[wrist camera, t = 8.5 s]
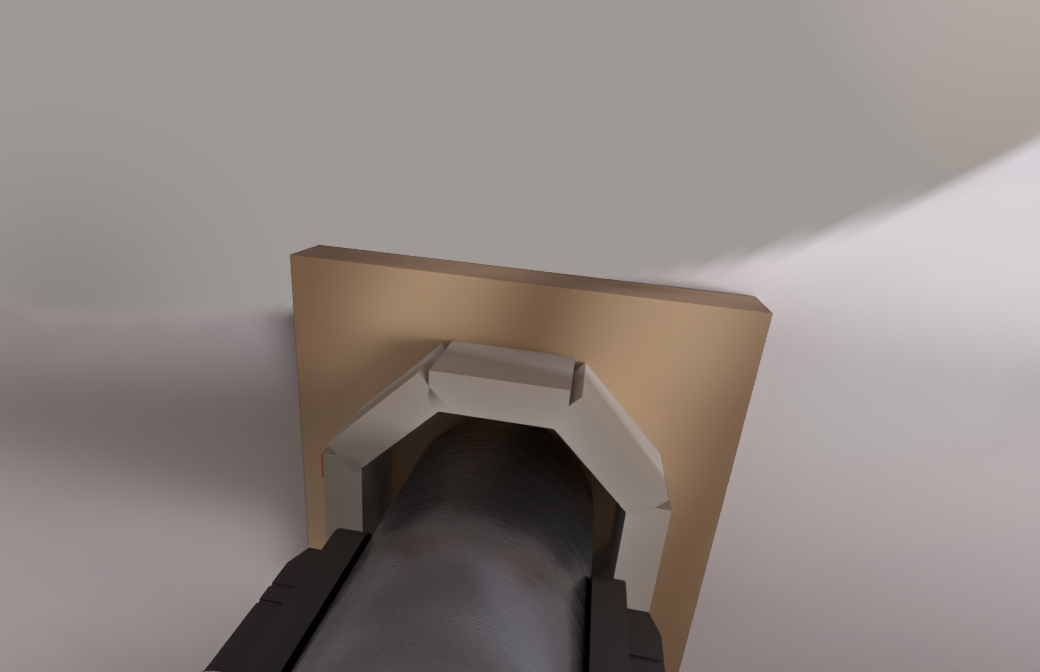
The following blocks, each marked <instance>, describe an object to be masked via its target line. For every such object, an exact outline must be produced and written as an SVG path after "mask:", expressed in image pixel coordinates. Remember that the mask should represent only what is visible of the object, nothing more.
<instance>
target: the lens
mask: <svg viewBox="0 0 1040 672" xmlns="http://www.w3.org/2000/svg"><path fill="white" fill-rule="evenodd" d="M593 513H594V503H593V494H592V490H591V485H590V483H589V480H588V478H587V475H586V473H585V471H584V470H583V468H582V466H581V464H580V463H579V462H578V461H577V459H576V458H575V457H574V455H573V454H572V453H571V452H570V451H569V450H568V449H567V448H566V447H565V446H564V445H562V444H561V443H560V442H559V441H557V440H556V439H555V438H553V437H552V436H550V435H548V434H547V433H545V432H543V431H541V430H539V429H537V428H535V427H532V426H530V425H525V424H518V423H512V422H505V421H499V420H492V419H480V420H473V421H469V422H465V423H462V424H459V425H457V426H454V427H452V428H450V429H448V430H446V431H445V432H443V433H442V434H440V435H439V436H438V437H436V438H435V439H434V440H433V441H432V442H431V443H430V444H429V445H428V446H427V448H426V449H425V450H424V452H423V453H422V455H421V456H420V458H419V460H418V461H417V463H416V465H415V466H414V468H413V470H412V471H411V473H410V475H409V476H408V478H407V480H406V481H405V483H404V485H403V486H402V488H401V489H400V491H399V493H398V494H397V496H396V498H395V499H394V501H393V503H392V504H391V506H390V508H389V509H388V511H387V513H386V514H385V516H384V518H383V519H382V521H381V523H380V524H379V526H378V528H377V529H376V531H375V533H374V534H373V536H372V537H371V539H370V541H369V542H368V544H367V546H366V547H365V549H364V551H363V552H362V554H361V556H360V557H359V559H358V561H357V562H356V564H355V566H354V567H353V569H352V571H351V572H350V574H349V576H348V577H347V579H346V581H345V582H344V584H343V585H342V587H341V589H340V590H339V592H338V594H337V595H336V597H335V599H334V600H333V602H332V604H331V605H330V607H329V609H328V610H327V612H326V614H325V615H324V617H323V619H322V620H321V622H320V624H319V625H318V627H317V629H316V630H315V632H314V633H313V635H312V637H311V638H310V640H309V642H308V643H307V645H306V647H305V648H304V650H303V652H302V653H301V655H300V657H299V658H298V660H297V662H296V663H295V665H294V667H293V668H292V670H291V672H587V650H588V622H589V595H590V578H591V573H592V543H593Z"/></svg>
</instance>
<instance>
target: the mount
mask: <svg viewBox="0 0 1040 672" xmlns="http://www.w3.org/2000/svg"><path fill="white" fill-rule="evenodd" d="M290 260H291V276H292V291H293V308H294V323H295V339H296V355H297V370H298V386H299V402H300V417H301V433H302V449H303V464H304V480H305V496H306V511H307V527H308V543H309V548H315V549H320V550H321V549H322V548H323V546H324V545H325V544H326V542H327V541H328V539H329V538H330V537H331V535H332V534H333V532H334V531H335V530H336V529H338V528H344V529H350V530H355V531H361V532H366V533H371V534H372V536H373V534H374V533H375V531H376V529H377V528H378V526H379V524H380V523H381V521H382V519H383V518H384V516H385V514H386V513H387V511H388V509H389V508H390V506H391V504H392V503H393V501H394V499H395V498H396V496H397V494H398V493H399V491H400V489H401V488H402V486H403V485H404V483H405V481H406V480H407V478H408V476H409V475H410V473H411V471H412V470H413V468H414V466H415V465H416V463H417V461H418V460H419V458H420V456H421V455H422V453H423V452H424V450H425V449H426V448H427V446H428V445H429V444H430V443H431V442H432V441H433V440H434V439H435V438H436V437H438V436H439V435H440V434H442V433H443V432H445V431H446V430H448V429H450V428H452V427H454V426H457V425H459V424H462V423H465V422H469V421H473V420H480V419H492V420H499V421H505V422H512V423H518V424H525V425H530V426H532V427H535V428H537V429H539V430H541V431H543V432H545V433H547V434H548V435H550V436H552V437H553V438H555V439H556V440H557V441H559V442H560V443H561V444H562V445H564V446H565V447H566V448H567V449H568V450H569V451H570V452H571V453H572V454H573V455H574V457H575V458H576V459H577V461H578V462H579V463H580V464H581V466H582V468H583V470H584V471H585V473H586V475H587V478H588V480H589V483H590V485H591V490H592V494H593V503H594V513H593V543H592V573H591V574H592V575H598V576H603V577H609V578H614V579H620V580H625V582H626V593H627V608H629V609H635V610H640V611H645V612H649V614H650V616H651V618H652V619H653V621H654V623H655V625H656V627H657V629H658V631H659V632H660V634H661V638H662V647H663V655H664V666H665V672H679V668H680V664H681V660H682V657H683V653H684V649H685V645H686V641H687V638H688V634H689V630H690V626H691V622H692V619H693V615H694V611H695V607H696V603H697V600H698V596H699V592H700V588H701V584H702V580H703V577H704V573H705V569H706V565H707V561H708V558H709V554H710V550H711V546H712V542H713V539H714V535H715V531H716V527H717V523H718V520H719V516H720V512H721V508H722V504H723V501H724V497H725V493H726V489H727V485H728V482H729V478H730V474H731V470H732V466H733V463H734V459H735V455H736V451H737V447H738V444H739V440H740V436H741V432H742V428H743V424H744V421H745V417H746V413H747V409H748V405H749V402H750V398H751V394H752V390H753V386H754V383H755V379H756V375H757V371H758V367H759V364H760V360H761V356H762V352H763V348H764V345H765V341H766V337H767V333H768V329H769V326H770V322H771V318H772V314H773V313H772V312H771V311H770V310H769V309H768V308H767V307H766V306H764V305H763V304H762V303H761V302H760V301H759V300H758V299H757V298H756V297H753V296H745V295H736V294H728V293H719V292H711V291H703V290H694V289H686V288H677V287H669V286H661V285H652V284H644V283H635V282H627V281H618V280H610V279H602V278H593V277H585V276H576V275H568V274H560V273H551V272H543V271H534V270H526V269H517V268H509V267H500V266H492V265H484V264H475V263H467V262H458V261H450V260H441V259H433V258H425V257H416V256H408V255H400V254H391V253H382V252H373V251H366V250H357V249H349V248H340V247H332V246H323V245H318V246H315V247H312V248H309V249H306V250H303V251H300V252H297V253H294V254H291V255H290Z"/></svg>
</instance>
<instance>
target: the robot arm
mask: <svg viewBox="0 0 1040 672" xmlns="http://www.w3.org/2000/svg"><path fill="white" fill-rule="evenodd" d="M371 537H372V534H371V533H366V532H361V531H355V530H350V529H344V528H338V529H336V530H335V531H334V532H333V534H332V535H331V537H330V538H329V539H328V541H327V542H326V544H325V545H324V546H323V548H322V549H321V550H320V549H315V548H308V549H306V550H305V551H303V552H302V553H301V554H299V555H298V556H296V557H295V558H293V559H292V560H291V561H289V562H288V563H287V564H286V565H285V567H284V568H283V569H282V570H281V572H280V573H279V574H278V576H277V577H276V578H275V580H274V581H273V582H272V586H269V587H268V589H267V590H266V591H265V593H264V594H263V595H262V596H261V598H260V601H259V603H256V604H255V606H254V607H253V608H252V609H251V611H250V612H249V613H248V615H247V616H246V617H245V619H244V620H243V621H242V622H241V624H240V625H239V626H238V628H237V629H236V630H235V632H234V633H233V634H232V635H231V637H230V638H229V639H228V641H227V642H226V643H225V645H224V646H223V647H222V648H221V650H220V651H219V652H218V654H217V655H216V656H215V658H214V659H213V660H212V661H211V663H210V664H209V665H208V666H207V668H206V669H205V670H204V671H203V672H291V670H292V668H293V667H294V665H295V663H296V662H297V660H298V658H299V657H300V655H301V653H302V652H303V650H304V648H305V647H306V645H307V643H308V642H309V640H310V638H311V637H312V635H313V633H314V632H315V630H316V629H317V627H318V625H319V624H320V622H321V620H322V619H323V617H324V615H325V614H326V612H327V610H328V609H329V607H330V605H331V604H332V602H333V600H334V599H335V597H336V595H337V594H338V592H339V590H340V589H341V587H342V585H343V584H344V582H345V581H346V579H347V577H348V576H349V574H350V572H351V571H352V569H353V567H354V566H355V564H356V562H357V561H358V559H359V557H360V556H361V554H362V552H363V551H364V549H365V547H366V546H367V544H368V542H369V541H370V539H371ZM587 672H665V666H664V655H663V647H662V638H661V634H660V632H659V631H658V629H657V627H656V625H655V623H654V621H653V619H652V618H651V616H650V614H649V612H645V611H640V610H635V609H629V608H627V593H626V582H625V580H620V579H614V578H609V577H603V576H598V575H592V574H591V578H590V595H589V622H588V650H587Z"/></svg>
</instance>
